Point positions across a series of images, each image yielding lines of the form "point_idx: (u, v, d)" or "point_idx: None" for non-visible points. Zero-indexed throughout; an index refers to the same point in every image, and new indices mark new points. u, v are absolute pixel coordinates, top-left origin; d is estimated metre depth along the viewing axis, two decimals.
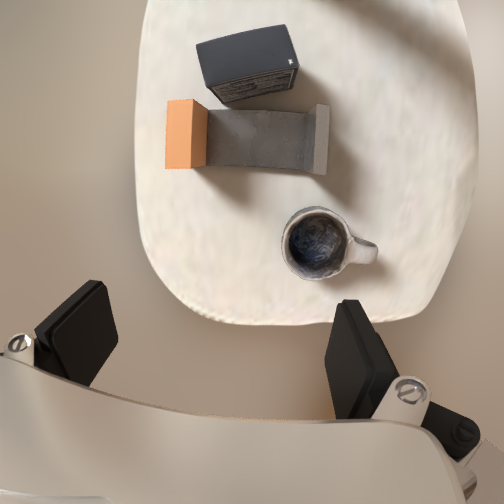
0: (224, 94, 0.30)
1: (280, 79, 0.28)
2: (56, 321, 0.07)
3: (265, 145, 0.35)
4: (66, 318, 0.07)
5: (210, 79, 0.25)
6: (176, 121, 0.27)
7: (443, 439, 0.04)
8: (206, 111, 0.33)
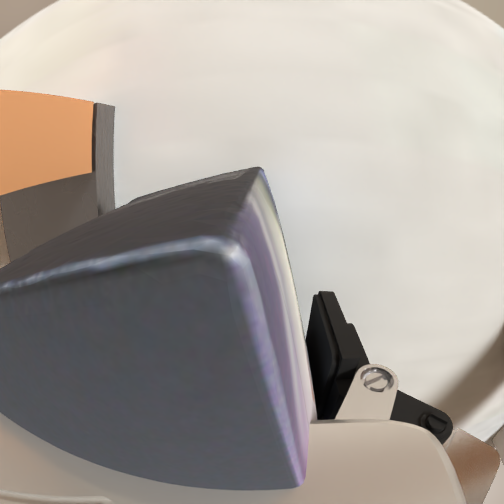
0: None
1: None
2: None
3: None
4: None
5: None
6: None
7: None
8: None
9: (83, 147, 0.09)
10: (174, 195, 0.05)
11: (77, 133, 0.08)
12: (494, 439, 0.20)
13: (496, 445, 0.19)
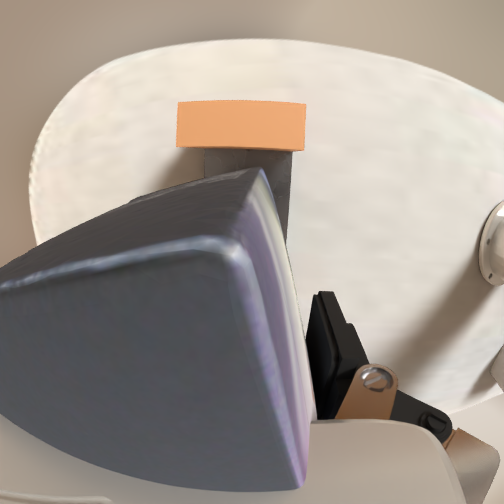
0: None
1: None
2: None
3: None
4: None
5: None
6: (262, 119, 0.15)
7: None
8: None
9: None
10: (174, 194, 0.05)
11: None
12: (491, 369, 0.34)
13: (494, 374, 0.33)
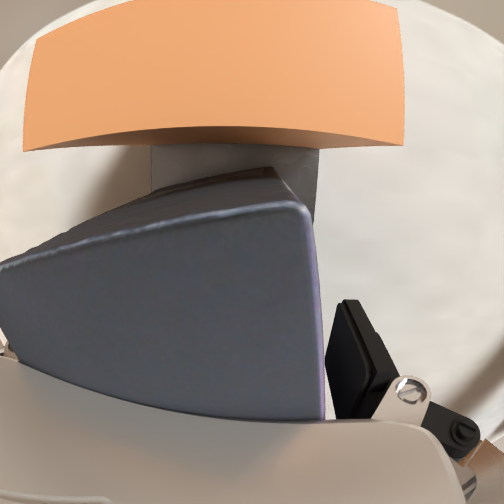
0: None
1: None
2: None
3: None
4: None
5: (3, 308, 0.03)
6: (259, 33, 0.04)
7: (443, 439, 0.04)
8: (314, 147, 0.11)
9: None
10: (217, 184, 0.06)
11: None
12: None
13: None
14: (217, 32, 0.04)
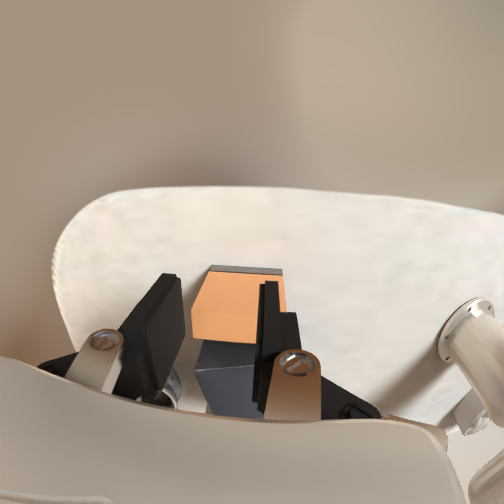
0: None
1: None
2: (146, 314, 0.08)
3: None
4: (154, 311, 0.08)
5: (202, 376, 0.22)
6: (254, 327, 0.23)
7: (330, 419, 0.05)
8: None
9: None
10: (245, 343, 0.25)
11: None
12: (454, 413, 0.42)
13: (455, 418, 0.41)
14: (246, 326, 0.23)
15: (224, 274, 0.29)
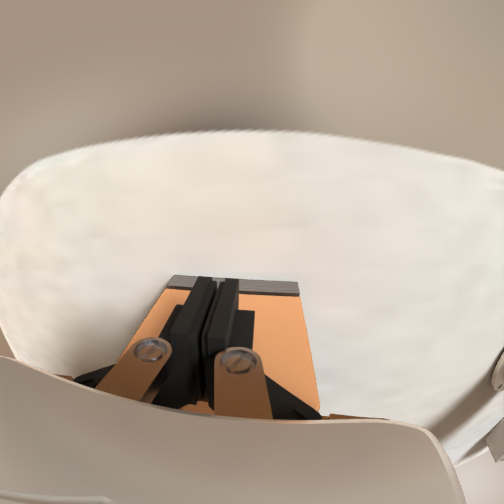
0: None
1: None
2: (192, 320, 0.08)
3: None
4: (199, 316, 0.08)
5: None
6: None
7: None
8: None
9: None
10: None
11: None
12: (486, 439, 0.28)
13: (488, 443, 0.27)
14: None
15: None
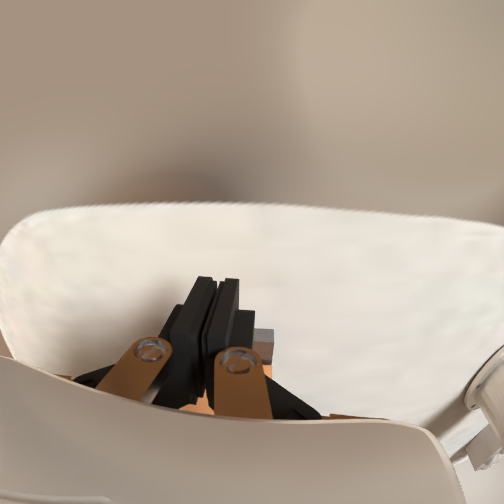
0: None
1: None
2: (192, 320, 0.08)
3: None
4: (199, 316, 0.08)
5: None
6: None
7: None
8: None
9: None
10: None
11: None
12: (466, 448, 0.31)
13: (467, 453, 0.30)
14: None
15: None
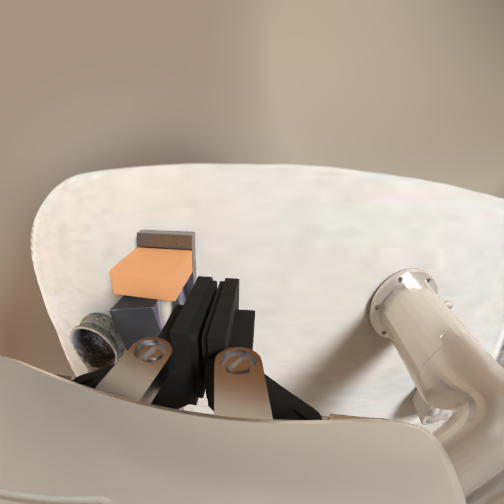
0: None
1: None
2: (192, 320, 0.08)
3: None
4: (199, 316, 0.08)
5: (115, 315, 0.28)
6: (151, 284, 0.29)
7: None
8: None
9: (191, 266, 0.36)
10: None
11: (190, 263, 0.35)
12: (412, 400, 0.47)
13: (414, 405, 0.46)
14: (145, 284, 0.29)
15: (147, 249, 0.35)
